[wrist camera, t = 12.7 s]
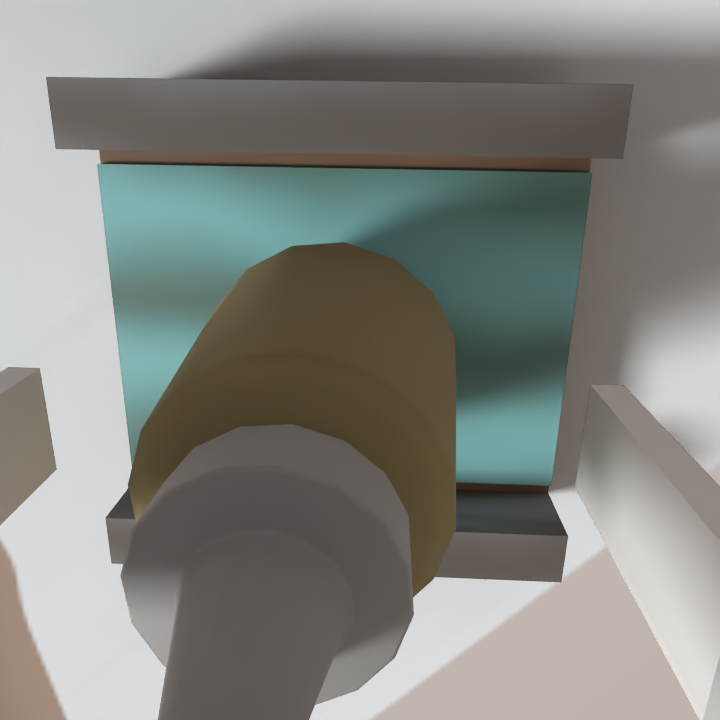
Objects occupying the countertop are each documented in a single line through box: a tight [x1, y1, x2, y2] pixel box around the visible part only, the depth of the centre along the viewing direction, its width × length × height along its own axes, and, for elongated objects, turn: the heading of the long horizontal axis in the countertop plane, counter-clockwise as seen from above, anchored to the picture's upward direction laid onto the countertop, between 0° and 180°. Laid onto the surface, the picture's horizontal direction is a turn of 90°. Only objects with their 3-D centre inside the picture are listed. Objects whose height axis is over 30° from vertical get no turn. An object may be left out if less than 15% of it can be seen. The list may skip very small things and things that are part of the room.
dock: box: [46, 77, 633, 582], centre depth 24 cm, size 17×17×6 cm
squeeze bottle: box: [121, 242, 456, 720], centre depth 15 cm, size 8×8×18 cm
